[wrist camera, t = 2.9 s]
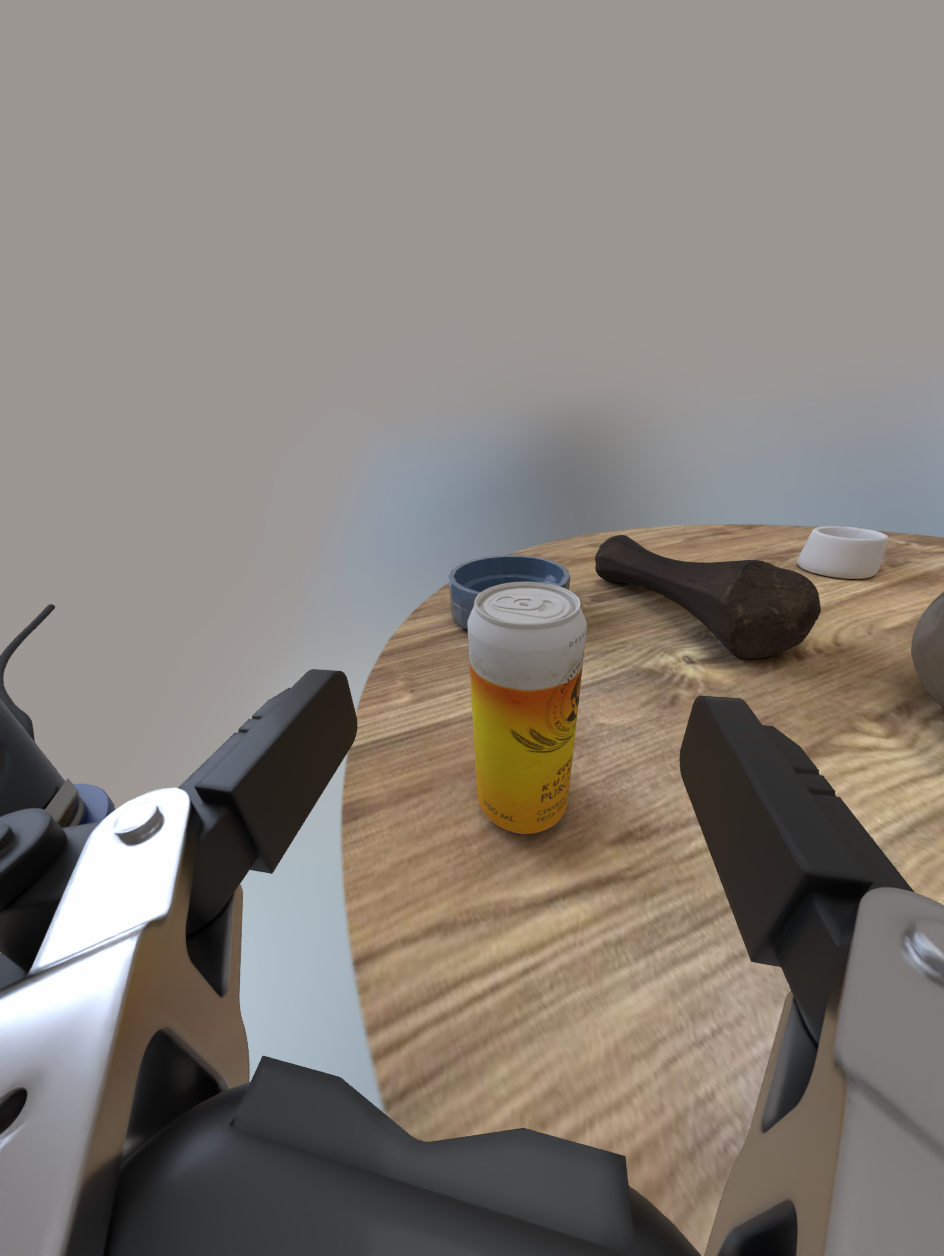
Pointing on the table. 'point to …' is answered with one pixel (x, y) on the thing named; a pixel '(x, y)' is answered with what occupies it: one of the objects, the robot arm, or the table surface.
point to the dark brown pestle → (722, 595)
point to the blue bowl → (498, 579)
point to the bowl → (930, 649)
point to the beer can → (525, 700)
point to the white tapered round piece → (843, 552)
